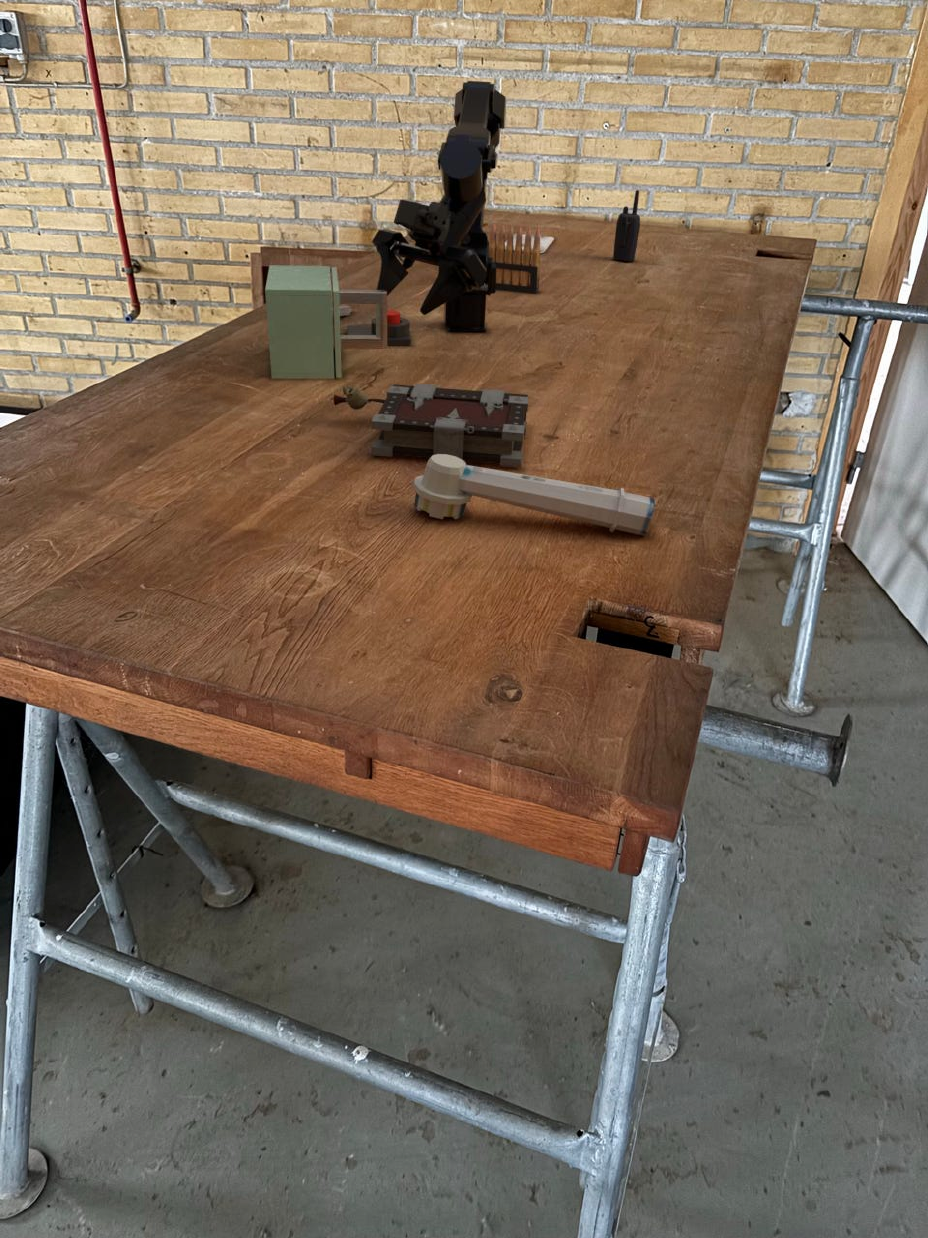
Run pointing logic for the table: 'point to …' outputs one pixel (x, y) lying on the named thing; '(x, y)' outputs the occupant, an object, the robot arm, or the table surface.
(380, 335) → the cabinet door
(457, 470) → the toothbrush head
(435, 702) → the table surface
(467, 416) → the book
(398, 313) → the release button
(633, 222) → the two-way radio
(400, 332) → the button block
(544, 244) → the tile
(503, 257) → the ammunition clip
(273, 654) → the table surface
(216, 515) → the table surface
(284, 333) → the cabinet
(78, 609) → the table surface
